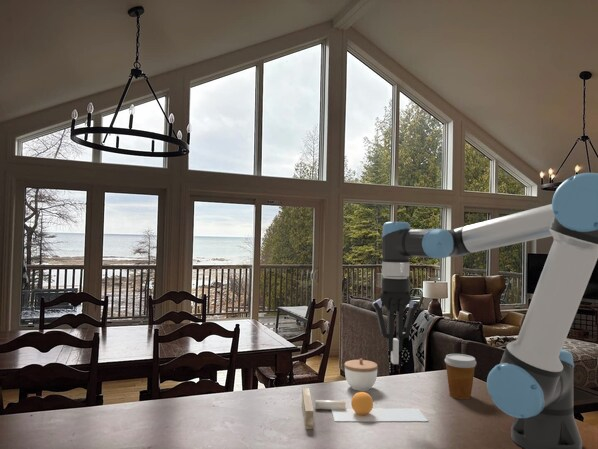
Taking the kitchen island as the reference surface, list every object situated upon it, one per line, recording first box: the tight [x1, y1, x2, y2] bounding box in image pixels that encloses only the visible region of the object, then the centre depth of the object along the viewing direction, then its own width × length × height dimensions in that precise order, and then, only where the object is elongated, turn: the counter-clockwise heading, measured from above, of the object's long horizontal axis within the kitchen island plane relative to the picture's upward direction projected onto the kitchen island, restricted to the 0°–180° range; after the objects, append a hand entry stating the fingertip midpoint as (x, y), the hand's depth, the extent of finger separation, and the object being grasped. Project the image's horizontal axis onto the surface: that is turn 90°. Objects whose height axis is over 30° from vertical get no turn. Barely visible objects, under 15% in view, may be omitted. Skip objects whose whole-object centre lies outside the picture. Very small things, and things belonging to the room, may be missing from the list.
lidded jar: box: [344, 358, 379, 392], centre depth 152 cm, size 11×11×9 cm
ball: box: [350, 391, 374, 415], centre depth 129 cm, size 6×6×6 cm
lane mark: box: [331, 407, 429, 423], centre depth 128 cm, size 25×9×1 cm, turn 92°
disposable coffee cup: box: [444, 353, 478, 400], centre depth 145 cm, size 10×10×12 cm
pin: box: [314, 399, 347, 410], centre depth 132 cm, size 2×2×8 cm
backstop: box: [301, 387, 314, 430], centre depth 127 cm, size 2×18×4 cm, turn 3°
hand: (394, 362), depth 129 cm, fingers closed
